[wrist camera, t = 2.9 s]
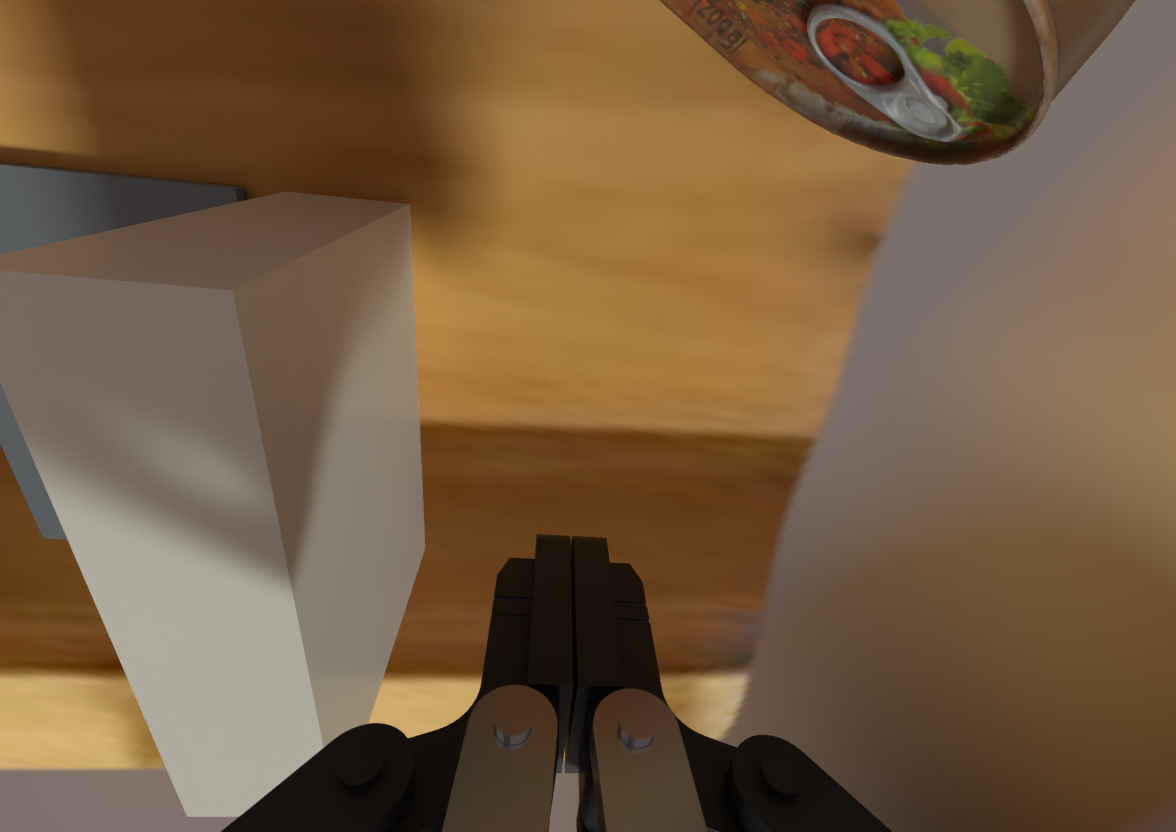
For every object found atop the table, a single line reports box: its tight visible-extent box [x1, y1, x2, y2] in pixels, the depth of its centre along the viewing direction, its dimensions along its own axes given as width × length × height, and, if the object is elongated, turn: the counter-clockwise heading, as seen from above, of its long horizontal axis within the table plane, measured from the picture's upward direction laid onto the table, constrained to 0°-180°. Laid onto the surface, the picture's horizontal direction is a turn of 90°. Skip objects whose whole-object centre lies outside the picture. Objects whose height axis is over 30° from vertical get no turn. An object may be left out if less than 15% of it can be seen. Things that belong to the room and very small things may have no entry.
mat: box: [0, 162, 246, 539], centre depth 16 cm, size 12×8×1 cm
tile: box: [0, 191, 425, 817], centre depth 13 cm, size 12×4×9 cm, turn 174°
